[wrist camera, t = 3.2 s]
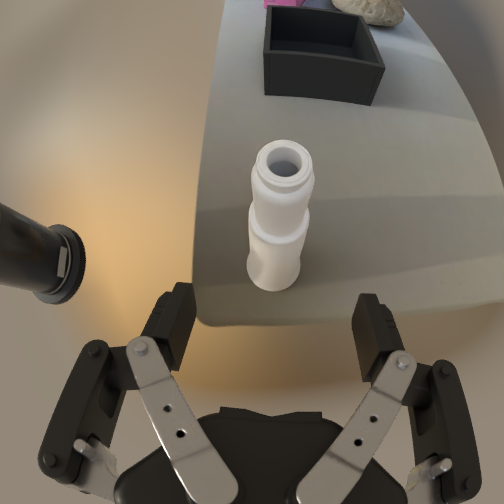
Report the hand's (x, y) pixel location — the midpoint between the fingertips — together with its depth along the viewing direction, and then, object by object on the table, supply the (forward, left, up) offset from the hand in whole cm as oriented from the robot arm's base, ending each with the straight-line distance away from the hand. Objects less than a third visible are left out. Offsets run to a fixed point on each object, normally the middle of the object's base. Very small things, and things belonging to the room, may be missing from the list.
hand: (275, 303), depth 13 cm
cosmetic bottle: (0, +5, -18) cm, 19 cm away
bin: (+6, +39, -18) cm, 44 cm away
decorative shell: (+20, +65, -18) cm, 71 cm away
